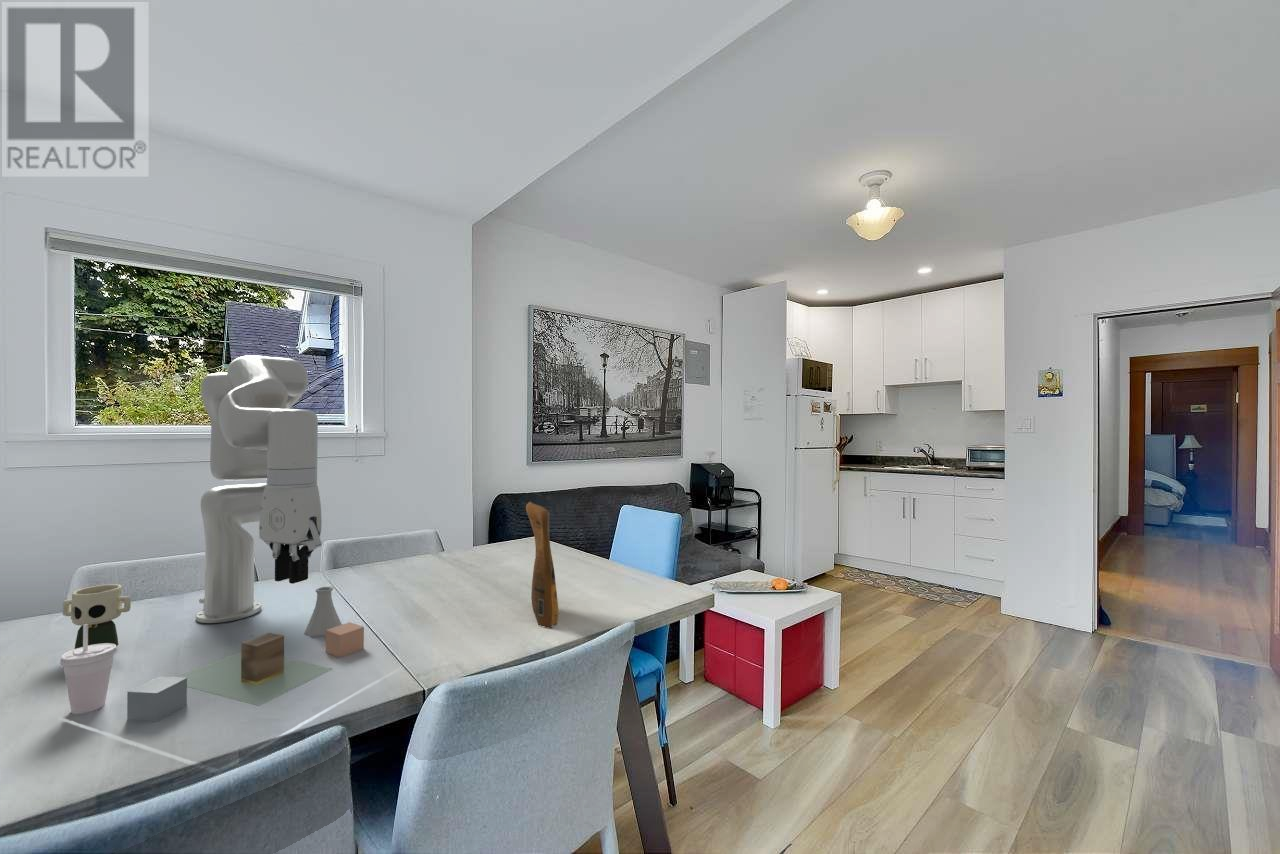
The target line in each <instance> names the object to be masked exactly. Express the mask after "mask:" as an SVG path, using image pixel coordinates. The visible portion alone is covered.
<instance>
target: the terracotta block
mask: <svg viewBox="0 0 1280 854" xmlns="http://www.w3.org/2000/svg"><path fill="white" fill-rule="evenodd" d="M364 647H365V626H363V625H359V624H356V623H353V622H350V621H349V622H346V623H343V624H342V625H340V626H337V627H334V628H331V629H327V630H326V636H325V653H327V654H329V655H332V656H335V657H338V658H342V657H345V656H348V655H350V654H354V653H356V652H359V651H361V650H363V649H364Z"/></svg>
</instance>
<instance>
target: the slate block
mask: <svg viewBox="0 0 1280 854" xmlns="http://www.w3.org/2000/svg"><path fill="white" fill-rule="evenodd" d="M126 696H127V697H126V698H127V699H126V701H127V703H126V704H127V706H126V707H127V708H126V709H127V710H126V711H127V712H126V713H127V714H126V721H132V722H135V721H136V722H150V723H158V722H159V721H161V720H163V719H165V718H166V717H168V716H170V715H172V714H174V713H175V712H177V711H178V710H181V709H182V708H184V707H186V706H187V705H188V702H187V701H188V687H187V678H182V677H176V676H161V675H160V676H157V677H155V678H153V679H150V680H149V681H148V680H147V682H145V683H142V684H140V685H138V686H136V687H134V688H132V689H129V690H128V691H127V694H126Z"/></svg>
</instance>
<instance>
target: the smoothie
mask: <svg viewBox="0 0 1280 854" xmlns="http://www.w3.org/2000/svg"><path fill="white" fill-rule="evenodd" d="M116 653H117V647H116V645H115V644H111V643H102V644H94V645H89V646H88V624H84V625H83V647H80V648H77V649H75V648H73V649H72V650H69V651H66V652H64V653H63V654H62V655H61V656H60V660H59V661H60V662H59V664H60V665H61V666H63V673H64V678H65V683H66V689H67V695H68V701H69V706H70V712H71V714H73V715H81V714H88V713H91V712H93V711H94V712H95V711H97V710H98V709H101V708H103V707H105V705H106V700H107V694H108V689H109V684H110V683H109V682H110V677H111V671H112V667H113V660H114V655H115V654H116Z"/></svg>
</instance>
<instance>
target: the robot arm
mask: <svg viewBox="0 0 1280 854" xmlns="http://www.w3.org/2000/svg"><path fill="white" fill-rule="evenodd" d="M308 383H309V376H308V371H307V369H306V367H305V366H304V365H303V364H302V363H301V362H300V361H299V360H297V359H292V358H286V357H273V356H263V355H243V356H240V357H237V358H235V359H234V360H233V361H231V362H230V363H229V365H228V367H227V370H226V372H215V373H209V374H207V375H205V376H204V377H202V380H201V383H200V396H201V400H202V403H203V406H204V409H205V410H206V412H207V414H208V418H209V421H210V427H211V428H210V429H211V430H210V448H209V449H210V450H209V451H210V453H209V455H210V456H209V457H210V458H209V463H210V464H209V467H210V468H209V469H210V472H211V475H212V476H213V478H214V479H216V480H220V481H227V482H228V481H233V482H234V481H250V480H251V481H252V480H253V481H254V480H266V483H253V484H252V483H251V484H250V483H249V484H247V483H244V484H230V485H229V484H227V485H220V486H216V487H213V488H209V489H208V490H207V491H205V492H204V493H203V494H202V496H201V498H200V511H201V517H202V523H203V530H204V596H203V597H202V596H201V597H200V598H199V599H198V603H199V604H203V609H202V610H199V611H198V612H197V613H196V615H195V621H196V622H198V623H202V624H219V623H227V622H233V621H238V620H242V619H245V618H249V617H250V616H254V615H256V614H258V613H259V612H260V611H261V610H262V604H261V603H260V602H258V601H255V600H254V599H255V597H254V593H255V589H254V588H255V540H254V538H253V536H252V534H250V533H249V532H248V531H247V530H246V529H245V528H243V526H242V525H243V524H249V523H256V522H259V525H258V536H259V537H258V538H259V539H260V540H261V541H263V542H264V543H265V544H266V545H267V546H269V548H270V550H271V551H272V556H271V557H272V558H273V559H274V581H275V582H283V581H285V580H288V583H289V584H291V585H293V584H296V583H301V582H303V581H307V580H308V579H309V558H311V557H312V553H313V552H314V550H316V549H318V548H320V547H321V546H322V544H323V543H322V541H321V535H322V505H321V497H320V496H321V495H320V490H319V486H318V447H319V446H318V438H319V437H318V436H319V435H318V434H319V433H318V432H319V429H318V426H319V425H318V424H319V421H318V420H319V418H318V415H317V413H316V412H314V411H313V410H308V409H300V408H298V409H297V408H292V407H293V406H294V405H295V404H296V403H297V402H298V401H299V400H300V399H301V398H302V397H303V395H304V394H305V393H306V390H307V388H308V386H309V385H308ZM300 546H301V548H300Z"/></svg>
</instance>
